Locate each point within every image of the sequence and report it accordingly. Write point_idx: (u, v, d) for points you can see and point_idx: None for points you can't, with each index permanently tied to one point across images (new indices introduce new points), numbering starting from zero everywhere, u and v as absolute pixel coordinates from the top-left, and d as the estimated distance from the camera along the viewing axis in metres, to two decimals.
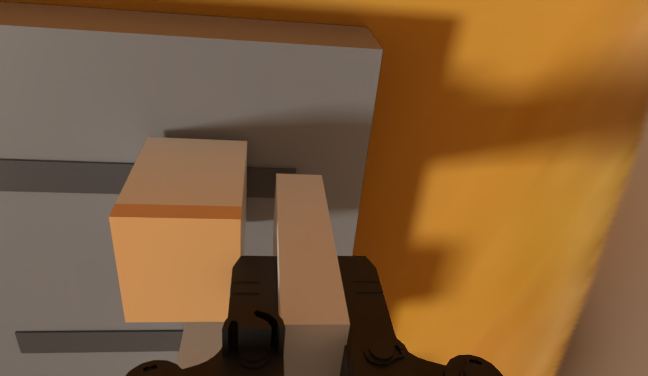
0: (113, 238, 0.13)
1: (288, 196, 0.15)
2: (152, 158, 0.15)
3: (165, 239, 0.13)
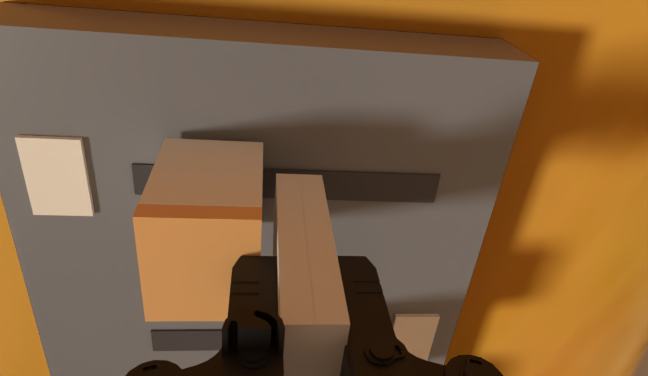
0: (136, 238, 0.13)
1: (287, 196, 0.15)
2: (171, 159, 0.15)
3: (187, 240, 0.13)
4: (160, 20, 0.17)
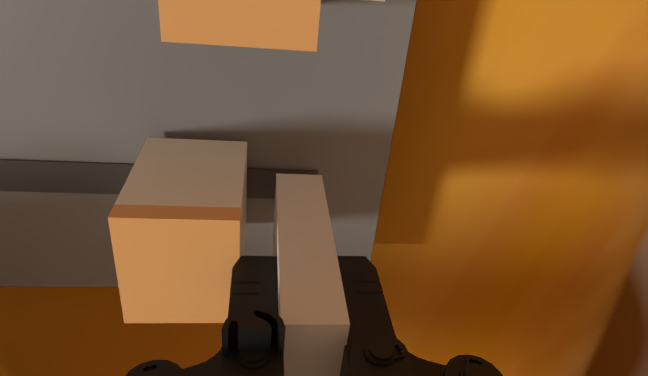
0: None
1: (288, 196, 0.15)
2: None
3: None
4: None
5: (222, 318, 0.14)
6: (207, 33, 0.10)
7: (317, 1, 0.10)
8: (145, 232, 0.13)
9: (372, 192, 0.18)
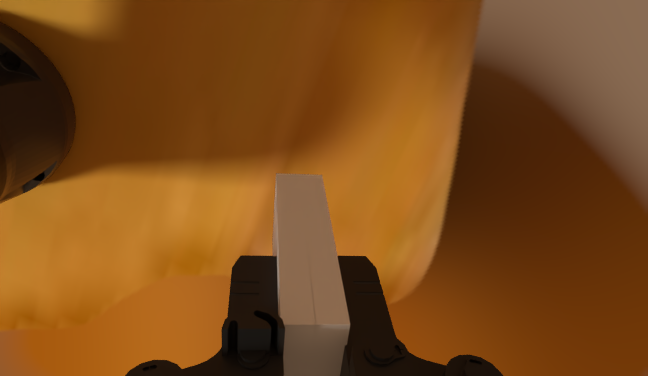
0: None
1: (287, 196, 0.15)
2: None
3: None
4: None
5: None
6: None
7: None
8: None
9: None
